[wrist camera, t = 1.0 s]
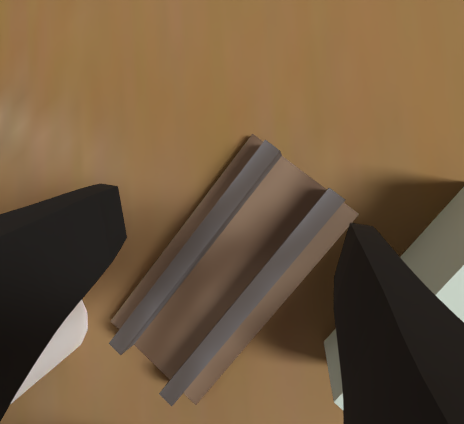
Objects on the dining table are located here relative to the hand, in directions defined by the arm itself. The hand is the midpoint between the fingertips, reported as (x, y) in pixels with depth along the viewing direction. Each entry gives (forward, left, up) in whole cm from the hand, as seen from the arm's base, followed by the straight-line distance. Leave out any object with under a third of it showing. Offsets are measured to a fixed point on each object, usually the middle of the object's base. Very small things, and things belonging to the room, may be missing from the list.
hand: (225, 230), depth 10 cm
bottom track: (0, +5, -13) cm, 14 cm away
